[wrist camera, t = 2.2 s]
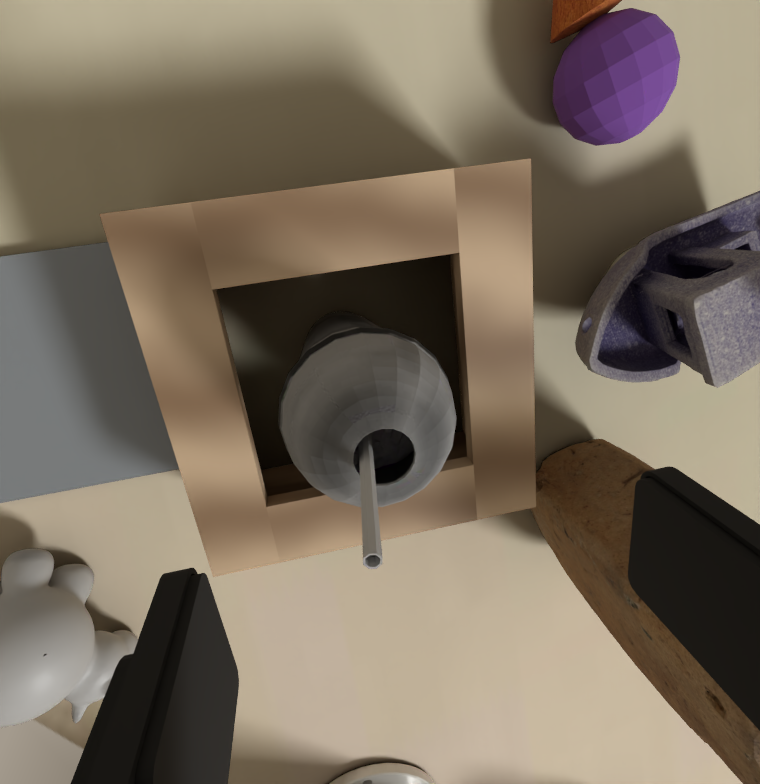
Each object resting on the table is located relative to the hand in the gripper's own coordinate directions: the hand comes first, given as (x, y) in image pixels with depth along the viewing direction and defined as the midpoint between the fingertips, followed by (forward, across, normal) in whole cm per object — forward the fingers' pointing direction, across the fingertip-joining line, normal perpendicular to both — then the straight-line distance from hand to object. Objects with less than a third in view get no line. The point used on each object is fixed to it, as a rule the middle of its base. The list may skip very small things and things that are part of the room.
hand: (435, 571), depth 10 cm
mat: (+22, +18, 0) cm, 28 cm away
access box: (+22, 0, +1) cm, 22 cm away
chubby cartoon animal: (+22, +21, +16) cm, 34 cm away
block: (+22, -16, +16) cm, 31 cm away
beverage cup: (+22, 0, +1) cm, 22 cm away
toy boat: (+22, -20, 0) cm, 30 cm away
